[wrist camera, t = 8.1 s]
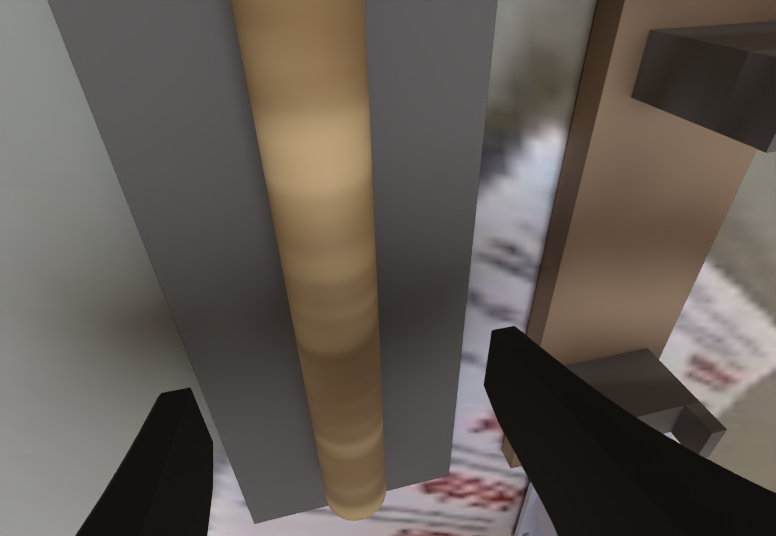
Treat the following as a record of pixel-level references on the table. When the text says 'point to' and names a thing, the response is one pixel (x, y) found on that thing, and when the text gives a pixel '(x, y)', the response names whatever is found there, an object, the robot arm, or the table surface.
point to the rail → (323, 223)
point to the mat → (256, 228)
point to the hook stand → (651, 193)
